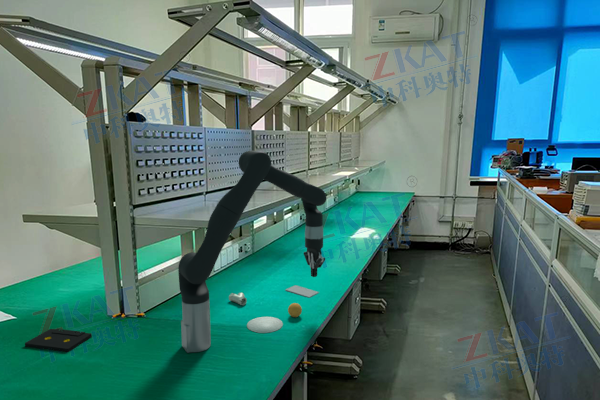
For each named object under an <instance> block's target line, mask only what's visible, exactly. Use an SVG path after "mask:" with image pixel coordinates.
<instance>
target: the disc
mask: <svg viewBox="0 0 600 400" xmlns="http://www.w3.org/2000/svg"><path fill="white" fill-rule="evenodd" d="M283 325H284V323H283V321H282V320H281V319H279V318H278V317H273V316H261V317H256V318H253V319H250V320H249V321H248V322H247V323H246V327H247V329H248V330H249V331H252V332H254V333H258V334H269V333H274V332H277V331H279V330H281V329H282V328H283Z"/></svg>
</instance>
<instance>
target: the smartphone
mask: <svg viewBox="0 0 600 400" xmlns="http://www.w3.org/2000/svg"><path fill="white" fill-rule="evenodd" d="M284 291H286V292H287V293H291V294H295V295H298V296H302V297H305V298H312V297H314V296H317V295H318V294H319V293H320V291H316V290H313V289H310V288H307V287H304V286H300V285H295V284H294V285H293V286H290V287H288V288H286V289H285V290H284Z"/></svg>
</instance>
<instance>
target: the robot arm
mask: <svg viewBox="0 0 600 400" xmlns="http://www.w3.org/2000/svg"><path fill="white" fill-rule="evenodd" d="M238 158H239V159H238V168H239V169H240V171H241V172H242V175H241V177H240V179H239V180H238V181H237V183H236V184H235V185H234V186H233V187H232V188H231V189H230V190H229V191H227V192H226V193H225V194H224V195H223V196H222V198H220V199H219V201H218V202H217V204H216V206H215V207H214V209H213V211H212V213H211V215H210V217H209V219H208V223H207V227H206V232H205V235H204V239H203V240H202V243H201V245H200V247H198V249H197V251H196V252H187V253H186V254H184V255H182V257H181V258H180V259H179V263H178V267H177V268H178V269H177V271H178V284H179V285H178V286H179V291H180V296H181V306H182V307H181V308H182V309H181V310H182V319H181V320H180V326H181V328H180V329H181V332H180V333H181V347H182V348H183V349H184V350H185V352H186V353H187V354H188V353H199V352H203V351H206V350H208V349H209V348H210V347H211V345H212V344H211V342H212V340H211V308H210V304H211V303H210V290H209V288H208V285H207V282H206V281H207V279H208V278H209V277H210V276H211V274H212V272H213V270H214V267H215V265H216V263H217V260H218V258H219V256H220V255H221V252H222V250H223V248H224V246H225V245H226V243H227V241H228V239H229V238H230V236H231V234H232V232H233V231H234V229H235V227H236V225H237V224H238V222H239V221H240V219H241V216H242V215H243V213H244V211H245V209H246V208H247V206H248V204H249V202H250V201H251V199H252V197H253V195H254V194H255V192H256V191H257V190H258V188H259V186H260V185H261V183H262V182H263V181H266V182H267V183H270V184H272V185H274V186H276V187H278V188H279V189H281V190H283V191H285V192H286V193H288V194H291V195H292V196H294V197H295V198H299V199H301V202H302V207H303V211H304V215H305V230H304V247H305V248H306V251H304V252H303V256H304V258H305V261H306V263H307V265H308V266H309V268H310V276H311V277H312V278H316V277H318V269H319V268H322V266H323V264H324V263H325V261H326V258H325V257H324V256H323V255H322V254H323V253H322V248H323V247H324V228H323V227H324V226H323V225H324V224H323V223H324V219H323V213H322V212H321V211H320V210H319V209H318V207H320V206H323V205H324V204H325V203H326V201H327V193H326V192H325V191H324V190H323V188H320V187H317V186H315V185H313V184H310V183H309V182H307V181H305V180H303V179H301V178H299V177H298V176H297V175H294V174H293V173H289V172H288V171H285V170H282V169H279V168H277V167H275V166H274V165H272V159H271V157H270V155H269V154H268V153H267V152H264V151H260V150H247V151H243V153H241V155H240V156H239V157H238Z"/></svg>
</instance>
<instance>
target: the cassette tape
mask: <svg viewBox="0 0 600 400" xmlns="http://www.w3.org/2000/svg"><path fill="white" fill-rule="evenodd" d="M91 338H92V333H90V332H86V331H80V330H69V329H62V328H61V329H60V328H56V329H55V328H50V329H47V330H45V331H44V332H42V333H40V334H38V335H36V336H35V337H33V338H32V339H29V340H27V341H25V342H24V347H25V348H32V349H40V350H48V351H54V352H55V351H56V352H62V353H63V352H64V353H70V352H71V351H73V350H75V349H76V348H77V347H79V346H80V345H82V344H83V343H85V342H86V341H88V340H90V339H91Z"/></svg>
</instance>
